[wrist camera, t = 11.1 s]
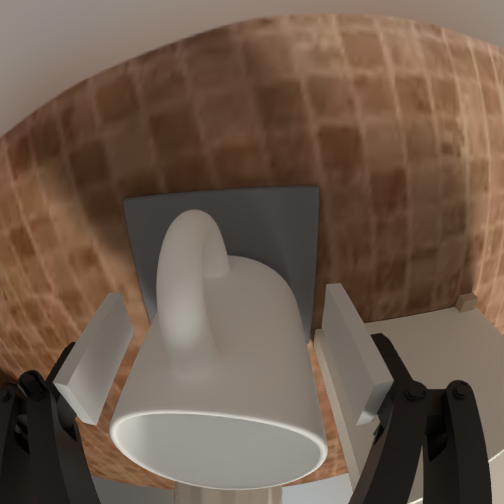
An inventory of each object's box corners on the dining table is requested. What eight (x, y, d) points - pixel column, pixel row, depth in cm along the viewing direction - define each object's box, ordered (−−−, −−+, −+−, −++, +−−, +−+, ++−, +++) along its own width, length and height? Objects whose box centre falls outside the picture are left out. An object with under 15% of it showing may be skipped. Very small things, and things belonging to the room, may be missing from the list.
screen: (311, 355, 20) (353, 525, 8) (316, 316, 19) (379, 512, 6) (462, 326, 21) (534, 426, 8) (475, 291, 19) (563, 391, 6)
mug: (138, 196, 14) (8, 297, 5) (289, 176, 14) (362, 271, 5) (184, 357, 19) (155, 483, 10) (297, 350, 19) (318, 484, 9)
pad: (160, 343, 19) (158, 348, 19) (126, 198, 15) (122, 200, 14) (307, 338, 20) (309, 343, 19) (316, 185, 15) (319, 187, 15)
